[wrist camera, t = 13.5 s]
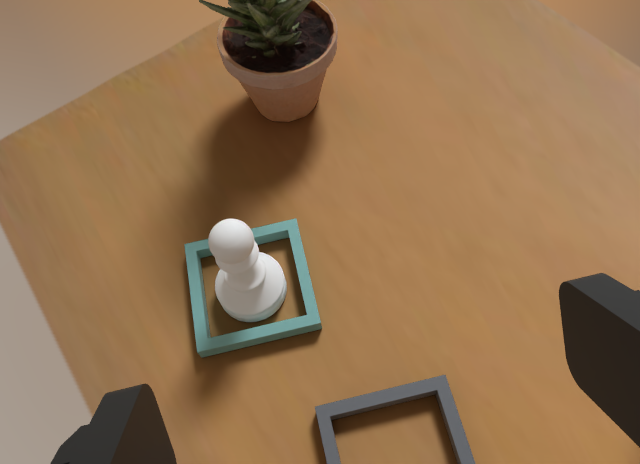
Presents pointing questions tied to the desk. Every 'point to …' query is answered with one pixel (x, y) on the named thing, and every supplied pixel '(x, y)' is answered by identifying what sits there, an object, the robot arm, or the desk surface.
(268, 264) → the chess pawn
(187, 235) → the desk surface
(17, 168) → the desk surface
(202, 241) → the frame
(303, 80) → the potted plant
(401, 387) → the charcoal port
